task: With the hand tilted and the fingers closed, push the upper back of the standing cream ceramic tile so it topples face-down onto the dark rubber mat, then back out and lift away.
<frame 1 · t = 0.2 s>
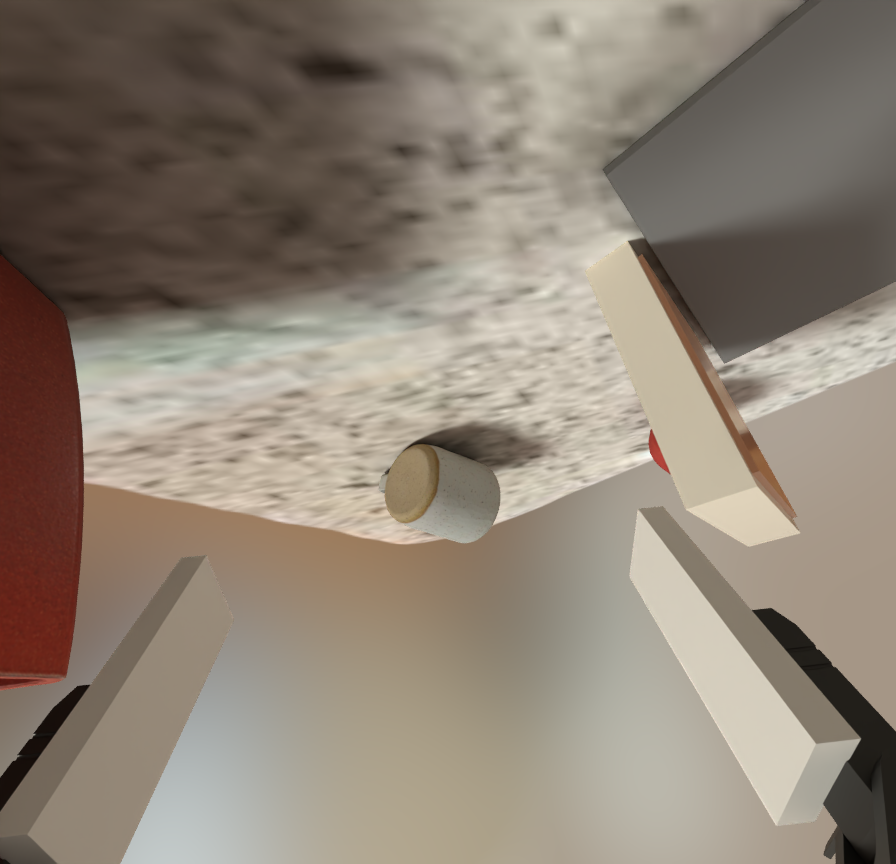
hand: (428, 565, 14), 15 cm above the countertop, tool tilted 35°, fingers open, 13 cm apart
ceramic mug: (428, 460, 42), on the countertop
tile: (644, 307, 27), on the countertop
mat: (839, 190, 22), on the countertop
onion: (669, 403, 38), on the countertop
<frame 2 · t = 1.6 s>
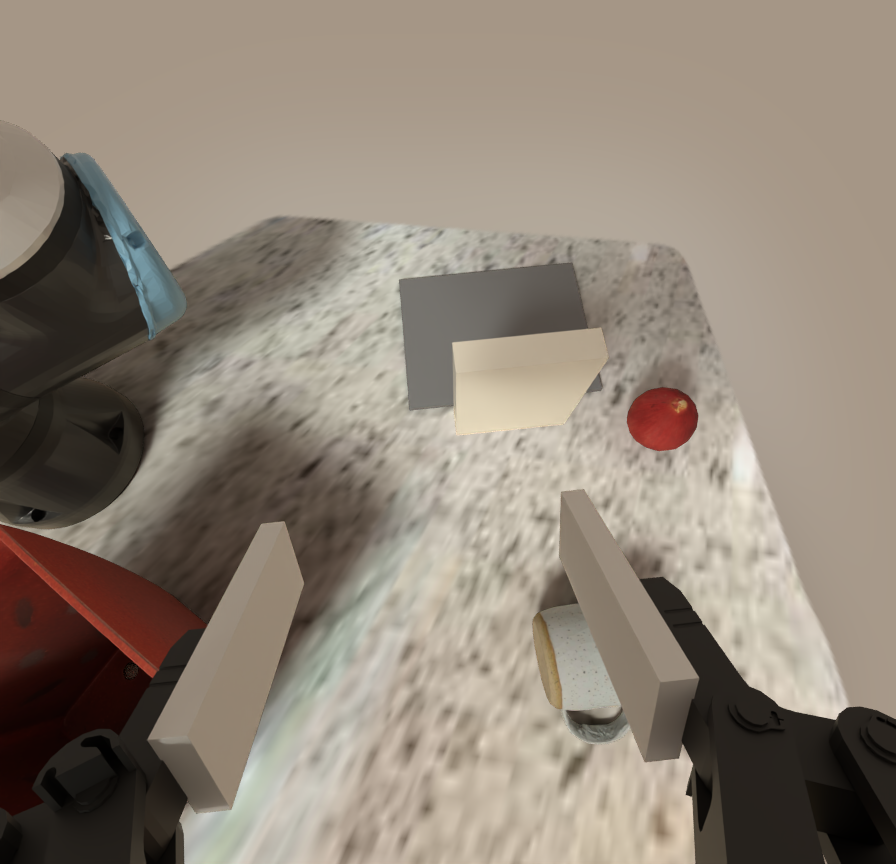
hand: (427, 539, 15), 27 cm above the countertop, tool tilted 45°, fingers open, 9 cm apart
plant pot: (164, 698, 37), on the countertop
ceramic mug: (585, 662, 38), on the countertop
tile: (508, 418, 45), on the countertop
mat: (495, 333, 48), on the countertop
onion: (644, 432, 44), on the countertop
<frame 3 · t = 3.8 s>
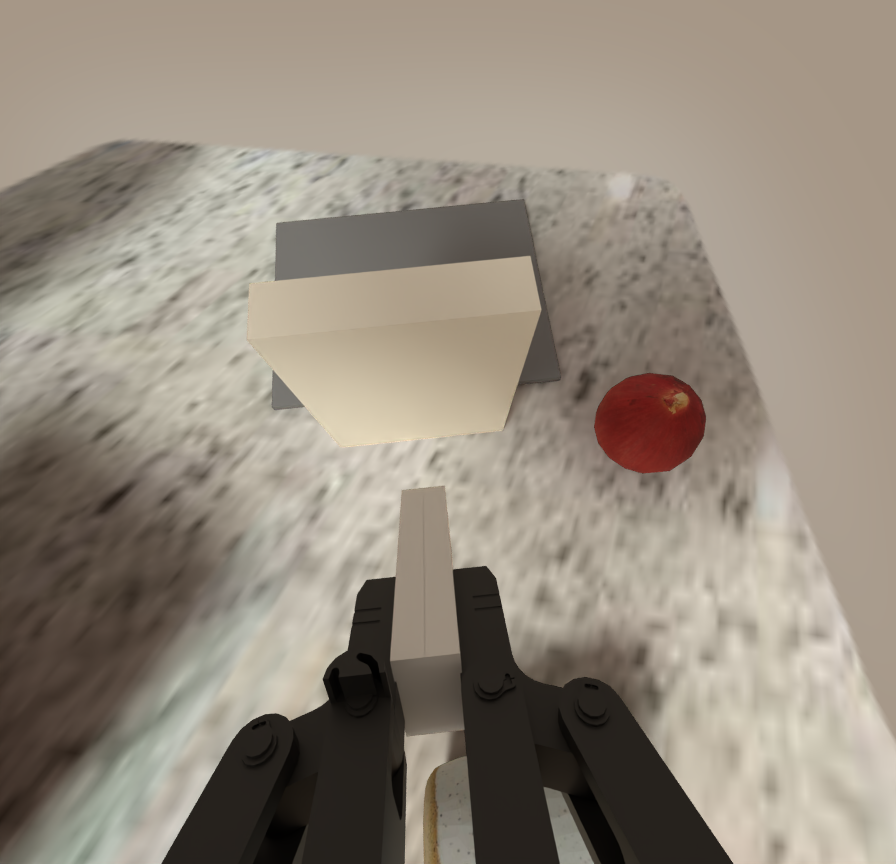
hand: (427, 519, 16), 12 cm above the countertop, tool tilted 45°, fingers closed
ceramic mug: (523, 837, 23), on the countertop
tile: (420, 422, 30), on the countertop
mat: (409, 298, 33), on the countertop
onion: (623, 442, 29), on the countertop
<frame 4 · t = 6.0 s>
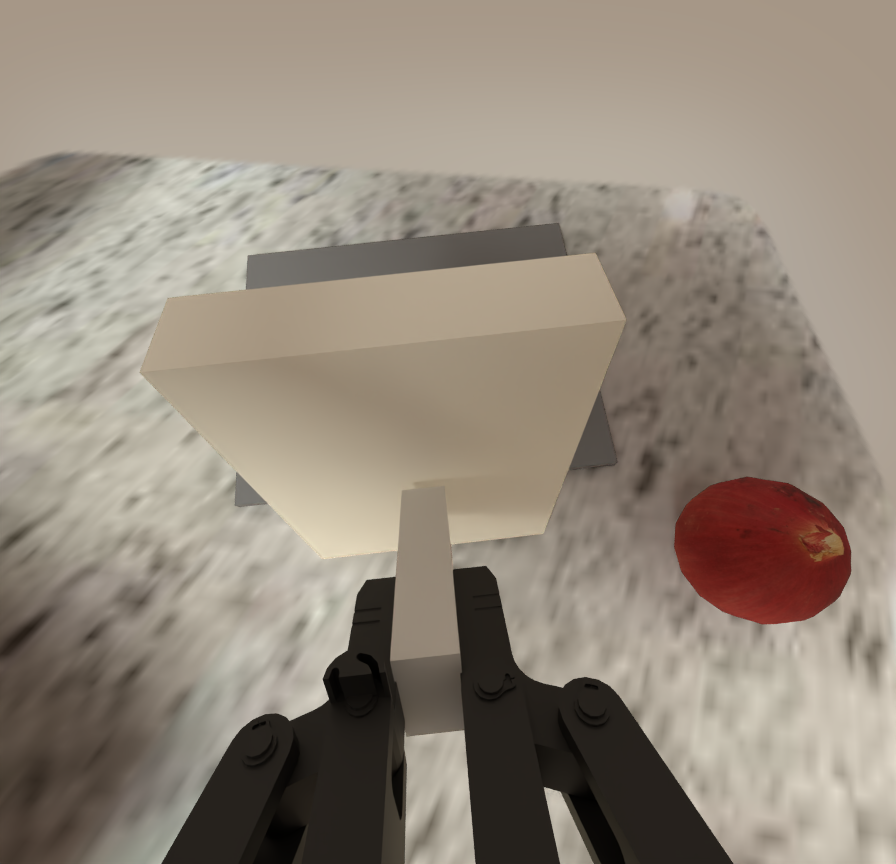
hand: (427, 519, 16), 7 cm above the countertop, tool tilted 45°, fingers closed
tile: (431, 522, 22), on the countertop, tilted 14°
mat: (415, 353, 26), on the countertop
onion: (703, 553, 22), on the countertop
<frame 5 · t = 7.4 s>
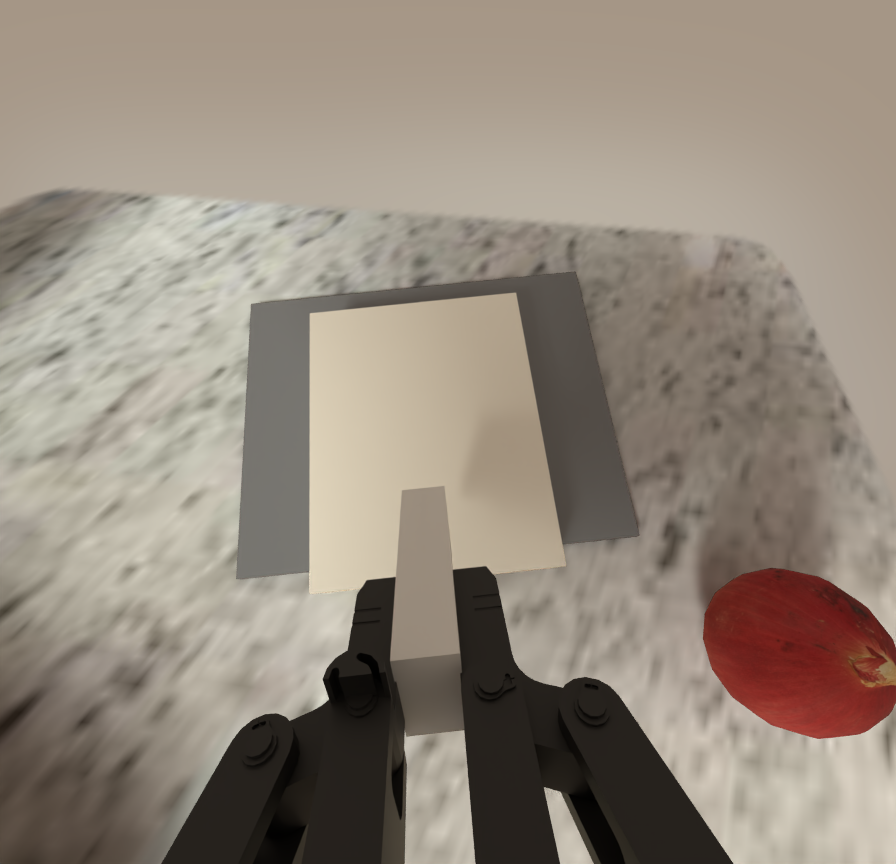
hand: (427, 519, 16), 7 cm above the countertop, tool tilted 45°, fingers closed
tile: (439, 580, 20), point 2 cm above the countertop, tilted 90°, touching mat
mat: (425, 411, 25), on the countertop
onion: (730, 635, 21), on the countertop
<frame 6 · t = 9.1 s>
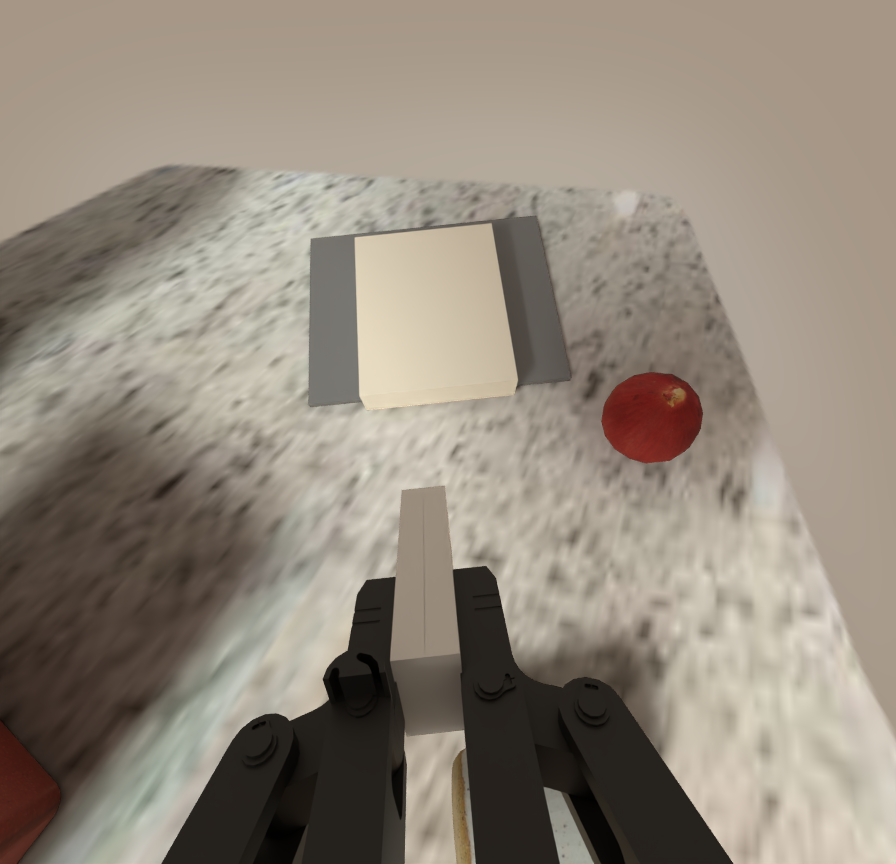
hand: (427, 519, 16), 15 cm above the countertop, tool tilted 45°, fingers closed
ceramic mug: (540, 818, 25), on the countertop
tile: (439, 395, 31), point 2 cm above the countertop, tilted 90°, touching mat
mat: (431, 306, 36), on the countertop
onion: (628, 437, 32), on the countertop
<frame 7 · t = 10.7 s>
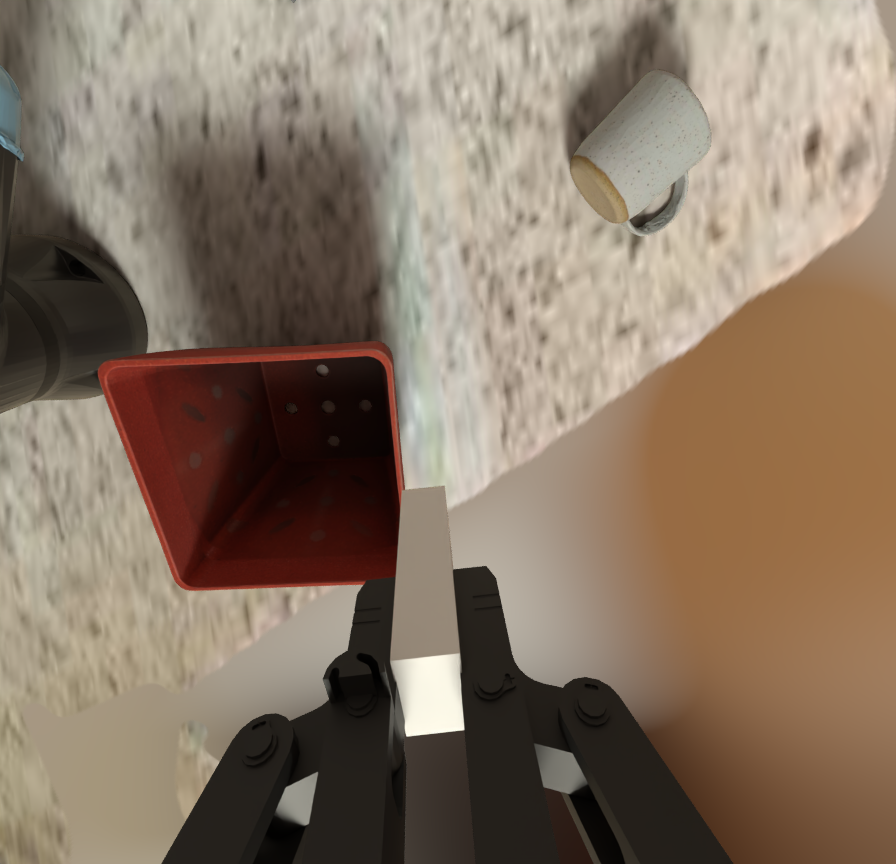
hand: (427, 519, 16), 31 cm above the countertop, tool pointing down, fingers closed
plant pot: (327, 406, 47), on the countertop
ceramic mug: (627, 174, 39), on the countertop
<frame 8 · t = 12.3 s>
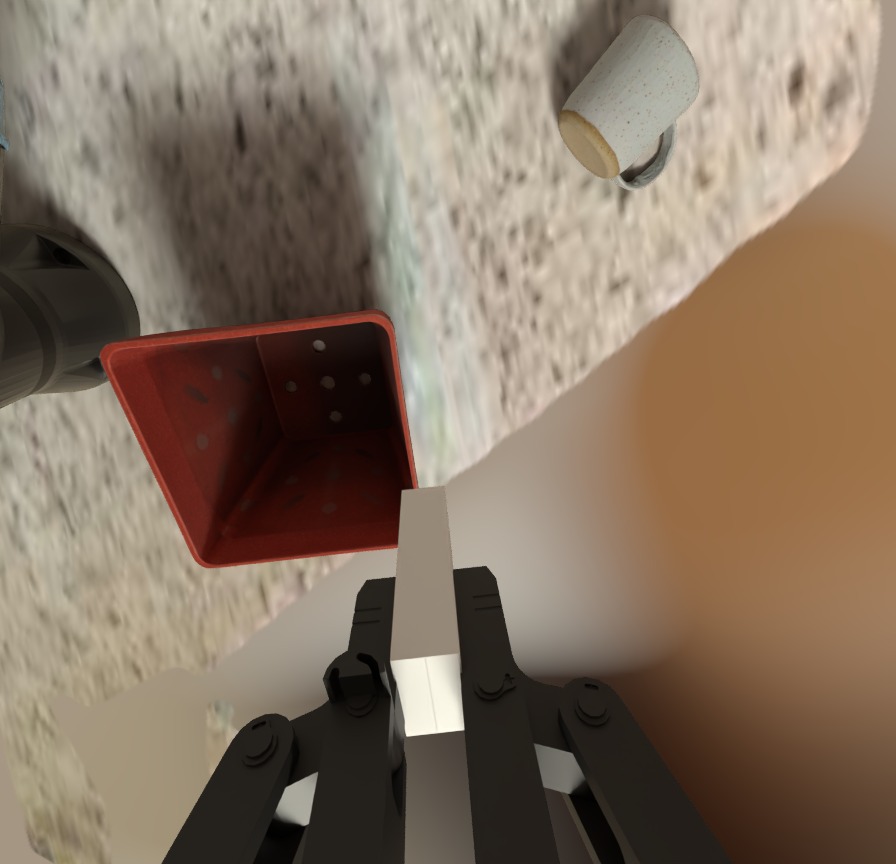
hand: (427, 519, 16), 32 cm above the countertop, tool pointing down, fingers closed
plant pot: (326, 382, 47), on the countertop
ceramic mug: (615, 127, 38), on the countertop
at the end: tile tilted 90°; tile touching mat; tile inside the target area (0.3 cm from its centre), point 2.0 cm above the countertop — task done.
